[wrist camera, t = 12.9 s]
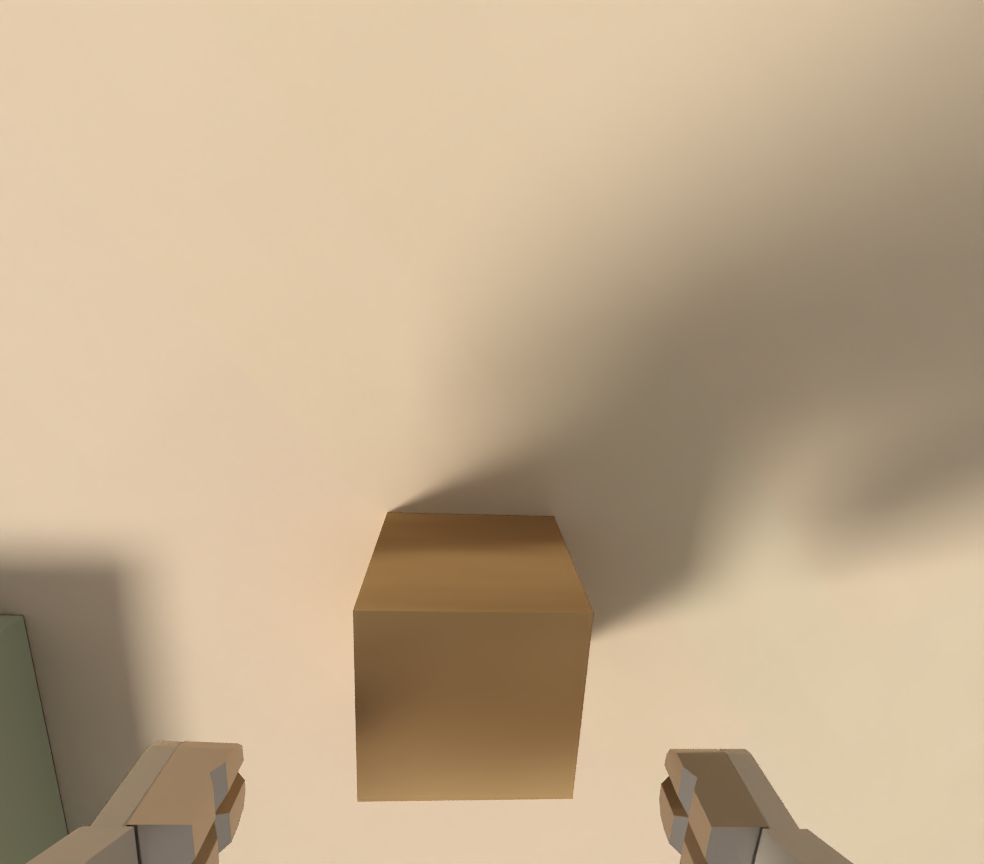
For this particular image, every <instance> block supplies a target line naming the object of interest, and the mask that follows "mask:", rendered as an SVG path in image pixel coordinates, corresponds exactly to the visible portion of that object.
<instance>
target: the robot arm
mask: <svg viewBox="0 0 984 864" xmlns="http://www.w3.org/2000/svg"><path fill="white" fill-rule="evenodd" d="M243 761H244V758H243V749H242V745H240V744H238V743H214V742H190V741H184V742H175V741H156V742H154V743H153V744H151V745H150V746H149V747H148V748H147V749H146V750H145V751H144V753H143V754H142V756H141V757H140V758H139V760H138V761H137V762H136V764H135V765H134V766H133V768H132V769H131V771H130V772H129V773H128V775H127V776H126V777H125V779H124V780H123V782H122V783H121V784H120V786H119V787H118V788H117V790H116V791H115V793H114V794H113V795H112V797H111V798H110V799H109V801H108V802H107V803H106V805H105V806H104V808H103V809H102V810H101V812H100V813H99V814H98V816H97V817H96V819H95V820H94V821H93V823H92V824H91V825H90V826H80V827H79V828H77V829H76V830H75V831H73V832H72V833H70V834H69V835H67V836H66V837H64V838H63V839H61V840H60V841H58V842H57V843H55V844H54V845H52V846H51V847H49V848H48V849H46V850H45V851H43V852H42V853H40V854H39V855H37V856H36V857H35V858H33V859H32V860H30V861H29V862H27V863H26V864H219V855H218V853H220V852H221V851H222V850H223V849H224V848H225V847H226V846H227V845H229V844H230V843H231V842H232V839H233V837H234V835H235V832H236V830H237V827H238V825H239V821H240V818H241V814H242V810H243V807H244V799H245V780H244V779H243V777H242V776H241V775H240V774H239V773H238V771H239V769H240V767H241V765H242V763H243ZM665 767H666V770H667V772H668V775H669V777H668V778H667V779H666V780H665V781H664V782H663V783H662V784H661V789H660V797H659V802H660V814H661V819H662V823H663V827H664V831H665V833H666V836H667V839H668V842H669V844H671V845H672V846H673V847H674V848H675V849H676V850H677V851H678V852H679V853H680V854H681V859H680V864H853V863H852V862H850V861H849V860H848V859H846V858H845V857H844V856H842V855H841V854H840V853H838V852H837V851H836V850H834V849H833V848H832V847H830V846H829V845H828V844H826V843H825V842H824V841H823V840H821V839H820V838H819V837H817V836H816V835H815V834H813V833H812V832H811V831H809V830H808V829H799V827H798V826H797V824H796V822H795V821H794V819H793V818H792V816H791V815H790V813H789V812H788V810H787V809H786V807H785V805H784V804H783V802H782V801H781V799H780V798H779V796H778V795H777V793H776V792H775V790H774V788H773V787H772V785H771V784H770V782H769V781H768V779H767V778H766V776H765V775H764V773H763V771H762V770H761V768H760V767H759V765H758V764H757V762H756V761H755V759H754V758H753V756H752V755H751V753H750V752H748V751H747V750H746V749H720V750H718V749H670V750H669V751H668V753H667V755H666V760H665Z"/></svg>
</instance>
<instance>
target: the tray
mask: <svg viewBox="0 0 984 864" xmlns="http://www.w3.org/2000/svg"><path fill="white" fill-rule="evenodd" d="M67 835H68V833H67V828H66V823H65V819H64V814H63V809H62V804H61V799H60V794H59V789H58V784H57V780H56V775H55V770H54V765H53V760H52V755H51V750H50V745H49V741H48V736H47V731H46V726H45V721H44V716H43V711H42V706H41V702H40V697H39V692H38V687H37V682H36V677H35V672H34V667H33V662H32V658H31V653H30V648H29V643H28V638H27V633H26V628H25V623H24V619H23V616H20V615H0V864H26V863H27V862H29V861H30V860H32V859H33V858H35V857H36V856H37V855H39V854H40V853H42V852H43V851H45V850H46V849H48V848H49V847H51V846H52V845H54V844H55V843H57V842H58V841H60V840H61V839H63V838H64V837H66V836H67Z"/></svg>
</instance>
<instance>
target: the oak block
mask: <svg viewBox="0 0 984 864" xmlns="http://www.w3.org/2000/svg"><path fill="white" fill-rule="evenodd" d="M592 622H593V611H592V608H591V606H590V603H589V601H588V599H587V596H586V594H585V591H584V589H583V586H582V584H581V581H580V579H579V577H578V574H577V572H576V569H575V567H574V564H573V562H572V559H571V557H570V555H569V552H568V550H567V547H566V545H565V542H564V540H563V537H562V535H561V533H560V530H559V528H558V525H557V523H556V520H555V518H554V516H517V515H475V514H432V513H390V512H387V515H386V518H385V521H384V523H383V526H382V529H381V532H380V535H379V538H378V541H377V544H376V546H375V549H374V552H373V555H372V558H371V561H370V564H369V567H368V569H367V572H366V575H365V578H364V581H363V584H362V587H361V589H360V592H359V595H358V598H357V601H356V604H355V607H354V610H353V627H354V670H355V714H356V757H357V800H358V802H362V801H438V800H514V799H572V798H573V790H574V781H575V772H576V763H577V754H578V746H579V737H580V728H581V719H582V710H583V701H584V693H585V684H586V675H587V666H588V657H589V648H590V640H591V631H592Z"/></svg>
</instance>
